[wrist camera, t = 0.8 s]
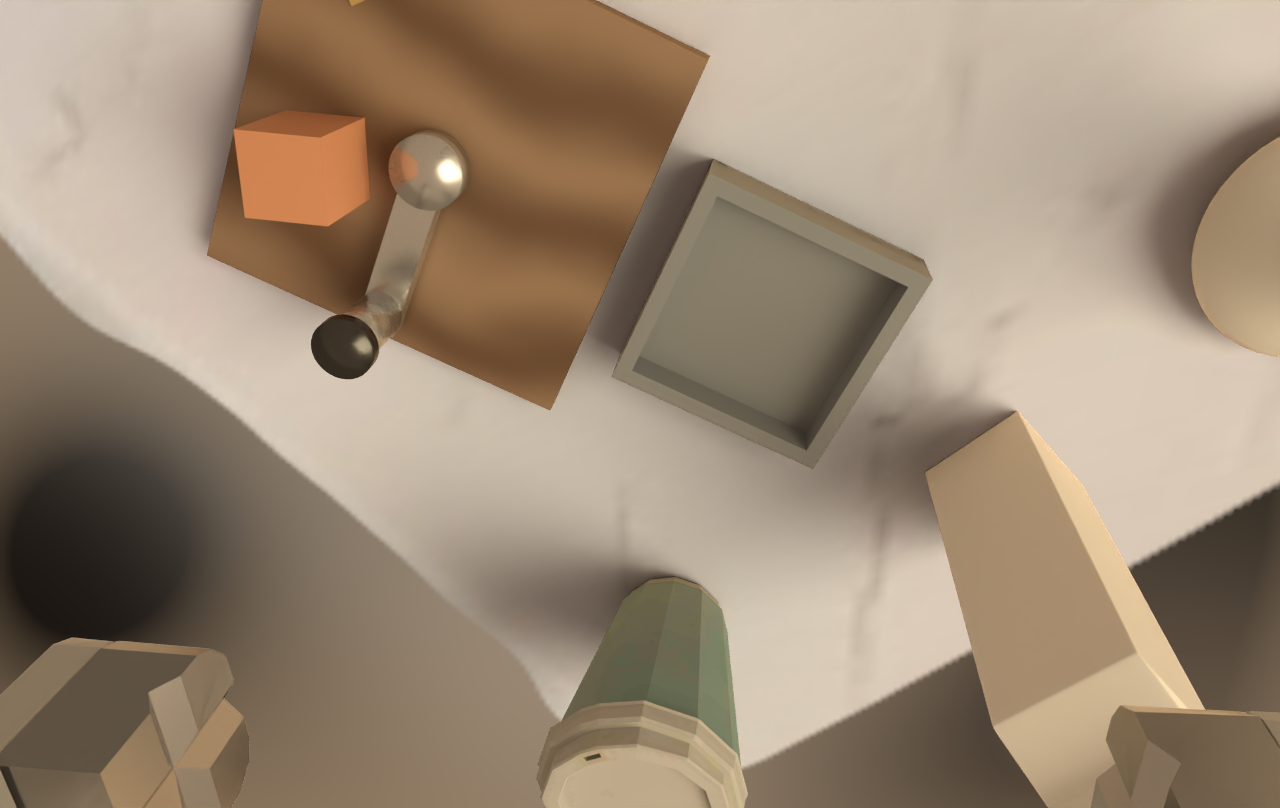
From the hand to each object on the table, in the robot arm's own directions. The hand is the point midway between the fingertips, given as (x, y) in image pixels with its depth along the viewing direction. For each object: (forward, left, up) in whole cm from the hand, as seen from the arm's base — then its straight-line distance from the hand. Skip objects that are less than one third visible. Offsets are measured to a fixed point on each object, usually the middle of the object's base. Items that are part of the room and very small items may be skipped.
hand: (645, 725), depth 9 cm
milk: (+13, +22, -40) cm, 47 cm away
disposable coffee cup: (+31, +10, -40) cm, 52 cm away
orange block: (+11, -18, -39) cm, 44 cm away
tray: (+10, +6, -40) cm, 42 cm away
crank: (+13, -12, -38) cm, 42 cm away
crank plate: (+10, -12, -40) cm, 43 cm away
